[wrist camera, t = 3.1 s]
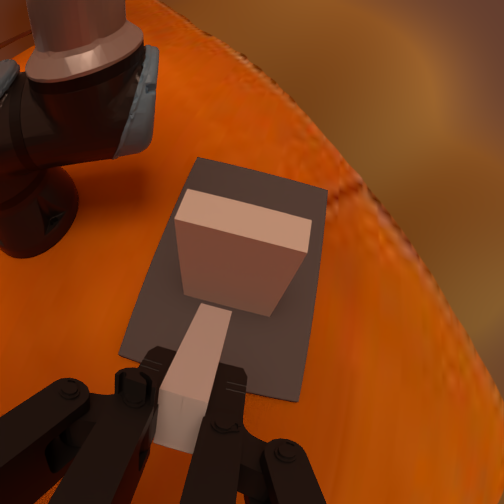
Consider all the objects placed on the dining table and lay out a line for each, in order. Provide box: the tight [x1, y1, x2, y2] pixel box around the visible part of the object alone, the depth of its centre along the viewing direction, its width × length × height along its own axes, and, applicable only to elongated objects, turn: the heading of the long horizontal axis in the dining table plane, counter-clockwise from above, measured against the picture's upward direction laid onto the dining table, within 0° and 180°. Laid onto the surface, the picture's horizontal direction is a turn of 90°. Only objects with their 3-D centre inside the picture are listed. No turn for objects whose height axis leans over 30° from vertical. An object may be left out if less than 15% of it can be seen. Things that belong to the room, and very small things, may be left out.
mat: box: [118, 157, 328, 402], centre depth 40 cm, size 30×20×1 cm, turn 168°
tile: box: [174, 189, 312, 317], centre depth 31 cm, size 3×10×15 cm, turn 78°
